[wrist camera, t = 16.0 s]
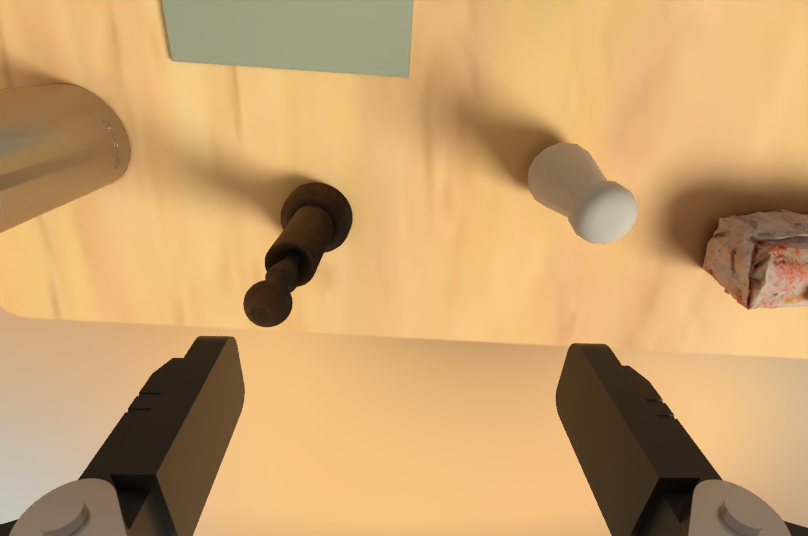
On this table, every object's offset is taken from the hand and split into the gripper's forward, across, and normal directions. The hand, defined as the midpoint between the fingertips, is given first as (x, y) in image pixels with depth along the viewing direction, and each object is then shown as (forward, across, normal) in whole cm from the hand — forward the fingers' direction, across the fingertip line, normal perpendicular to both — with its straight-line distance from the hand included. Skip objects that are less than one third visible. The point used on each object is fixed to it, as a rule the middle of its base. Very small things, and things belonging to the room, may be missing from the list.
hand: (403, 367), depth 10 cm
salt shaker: (+31, -15, +3) cm, 35 cm away
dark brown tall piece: (+32, +7, +9) cm, 34 cm away
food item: (+30, -37, +9) cm, 49 cm away
